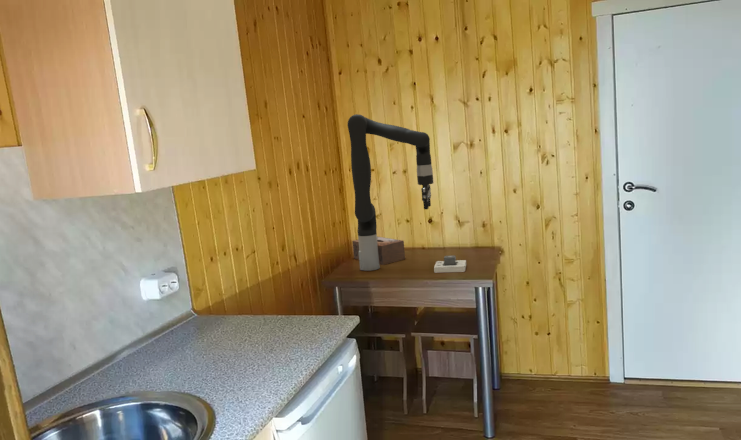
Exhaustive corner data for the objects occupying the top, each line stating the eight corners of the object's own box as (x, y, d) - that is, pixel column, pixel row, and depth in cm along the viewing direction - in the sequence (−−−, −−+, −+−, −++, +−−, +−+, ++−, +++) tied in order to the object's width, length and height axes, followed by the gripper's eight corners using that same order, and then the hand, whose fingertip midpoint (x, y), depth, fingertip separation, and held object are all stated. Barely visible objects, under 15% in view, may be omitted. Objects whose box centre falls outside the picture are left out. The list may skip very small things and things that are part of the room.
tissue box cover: (405, 259, 302) (403, 240, 300) (383, 265, 294) (381, 245, 292) (375, 253, 323) (373, 235, 321) (354, 258, 314) (352, 240, 313)
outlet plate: (434, 272, 269) (433, 267, 268) (437, 266, 280) (436, 261, 280) (464, 271, 266) (464, 266, 265) (466, 265, 277) (466, 259, 277)
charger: (444, 270, 272) (443, 257, 271) (445, 268, 276) (444, 255, 275) (455, 270, 270) (454, 257, 270) (456, 267, 274) (455, 255, 273)
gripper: (419, 173, 286) (421, 206, 288) (414, 176, 272) (417, 210, 275) (434, 172, 284) (436, 205, 286) (430, 175, 270) (433, 209, 273)
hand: (427, 207), depth 281 cm, fingers open, 8 cm apart
